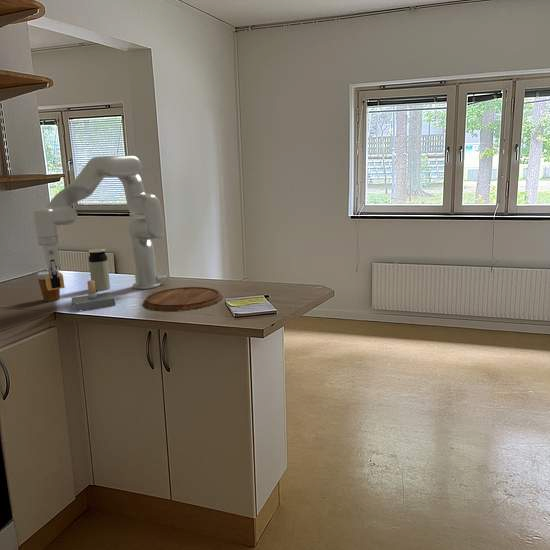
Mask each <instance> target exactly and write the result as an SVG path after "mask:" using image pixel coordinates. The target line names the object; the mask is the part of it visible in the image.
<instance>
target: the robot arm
mask: <svg viewBox="0 0 550 550" xmlns="http://www.w3.org/2000/svg"><path fill="white" fill-rule="evenodd" d="M142 168H143V166H142V161H141V159H139V158H138V157H137V156H135V155H117V156H116V155H112V156H111V155H109V156H108V155H107V156H104V155H103V156H94V157H92V158H90V160H88V162H87V163H86V164H85V165H84V167H82V170H81V171H80V172H79V173H78V175H77V176H76V178H74V180H73V181H72V182H71V183H69V184H68V185H67V186H66V187H64V188H62V189H61V190H60V191H59V192H58V193H57V194H56V195H54V197H52V199H51V200H50V201H49V202H48V204H47V205H46V207H41V208H37V209H34V211H32V214H33V216H32V217H33V220H34V227H35V229H34V230H35V232H36V240H37V245H38V247H41V248H42V249H41V250H42V255H43V261H44V264H45V268H46V271H49V274H50V275H51V278H50V280H51V286H52V288H59V287H61V285H60V279H59V275H58V271H60V270H62V265H61V259H60V255H59V250H58V245H59V244H60V240H59V234H58V233H59V232H58V226H69V225H72V224H74V223H75V222H76V220H77V219H78V212H77V211H76V209H75V208H74V207H72V206H73V205H74V204H75V203H77V202H80V201H82V200H85V199H87V198H89V197H91V196H92V195H93V194H94V192H95V191H96V190H97V188H98V187H99V185H100V184H101V182H102V181H103V180H104V179H105V178H117V179H119V180H120V182H121V184H122V186H123V190H124V194H125V200H126V205H127V210H128V212H129V213H130V214H131V215H135V216H144V217H135V218H133V219H131V220H130V222H129V223H128V226H127V229H128V235H129V238H130V243H131V249H132V258H133V259H132V260H133V268H134V270H133V271H134V281H135V283H133V284H132V288H133V289H138V290H146V289H147V290H148V289H153V288H158V287H159V286H160V285H161V281H166V280H168V276H167V275H157V268H156V257H155V248H154V247H155V246H154V244H153V241H152V240H154V241H156V240H159V239H161V238H162V237H163V236H164V233H165V221H164V216H163V209H162V205H161V201H160V199H159V198H158V197H157V196H156V195H155V194H152V193H146V191H145V186H144V183H143V179H142V177H141V175H140V173H141V171H142Z"/></svg>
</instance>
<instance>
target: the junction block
mask: <svg viewBox="0 0 550 550" xmlns="http://www.w3.org/2000/svg"><path fill="white" fill-rule="evenodd" d="M86 282H87V290H88V294H87V295H81V296H74V297H71V305H72V307H73V306H74V307H73V309H74V310H75V312H81V311H80V310H83V311H87V309H89V310H94V308H96V309H100V308H101V309H102V308H107V307H108V308H109V307H115V306H116V299H115V297H114V296H113V295H112V293H110V292H109V291H108V292H103V293H98V292H97V291H96V288H95V281H94V280H91V279H90V280H87V281H86Z"/></svg>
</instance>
